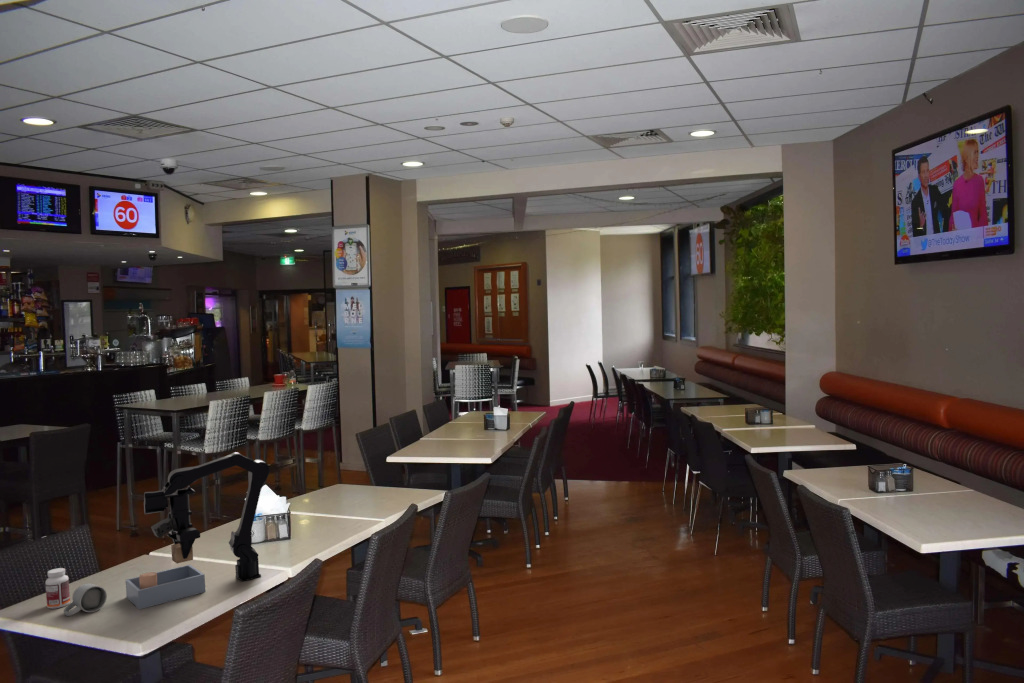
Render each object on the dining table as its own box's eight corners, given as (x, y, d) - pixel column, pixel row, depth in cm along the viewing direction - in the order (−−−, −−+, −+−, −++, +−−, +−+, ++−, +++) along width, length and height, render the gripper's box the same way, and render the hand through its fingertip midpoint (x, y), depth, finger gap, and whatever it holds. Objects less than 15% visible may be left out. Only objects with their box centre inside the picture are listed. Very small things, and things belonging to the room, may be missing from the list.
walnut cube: (172, 560, 237) (171, 544, 237) (188, 556, 240) (187, 541, 240) (176, 563, 233) (176, 548, 233) (193, 559, 237) (192, 544, 237)
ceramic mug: (96, 602, 230) (95, 578, 229) (108, 607, 224) (106, 582, 224) (59, 614, 221) (57, 589, 221) (70, 620, 216) (68, 594, 216)
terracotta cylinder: (155, 592, 234) (154, 571, 234) (159, 596, 230) (158, 574, 230) (138, 596, 231) (137, 574, 231) (142, 600, 227) (141, 578, 227)
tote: (190, 580, 246) (189, 564, 245) (205, 591, 235) (204, 574, 234) (126, 597, 233) (125, 579, 233) (138, 609, 222) (137, 591, 222)
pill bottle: (66, 600, 232) (64, 565, 232) (73, 604, 228) (71, 569, 228) (44, 606, 228) (42, 571, 228) (50, 610, 224) (48, 575, 223)
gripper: (144, 509, 238) (147, 556, 239) (162, 519, 224) (164, 569, 225) (180, 502, 246) (183, 548, 246) (199, 511, 232) (202, 560, 232)
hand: (182, 556), depth 237 cm, fingers closed on walnut cube, 5 cm apart
